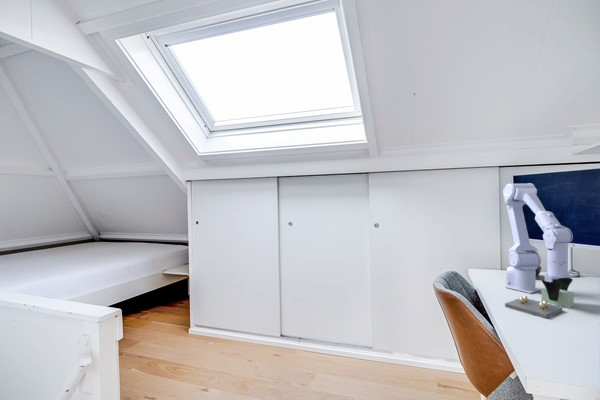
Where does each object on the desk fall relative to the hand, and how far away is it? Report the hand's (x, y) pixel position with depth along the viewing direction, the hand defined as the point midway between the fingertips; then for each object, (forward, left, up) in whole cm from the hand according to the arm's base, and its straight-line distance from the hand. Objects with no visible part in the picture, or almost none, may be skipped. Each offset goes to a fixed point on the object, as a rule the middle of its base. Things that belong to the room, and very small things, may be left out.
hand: (557, 298), depth 111 cm
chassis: (-2, -13, -2) cm, 13 cm away
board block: (0, 0, -2) cm, 2 cm away
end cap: (-22, +32, -2) cm, 39 cm away
